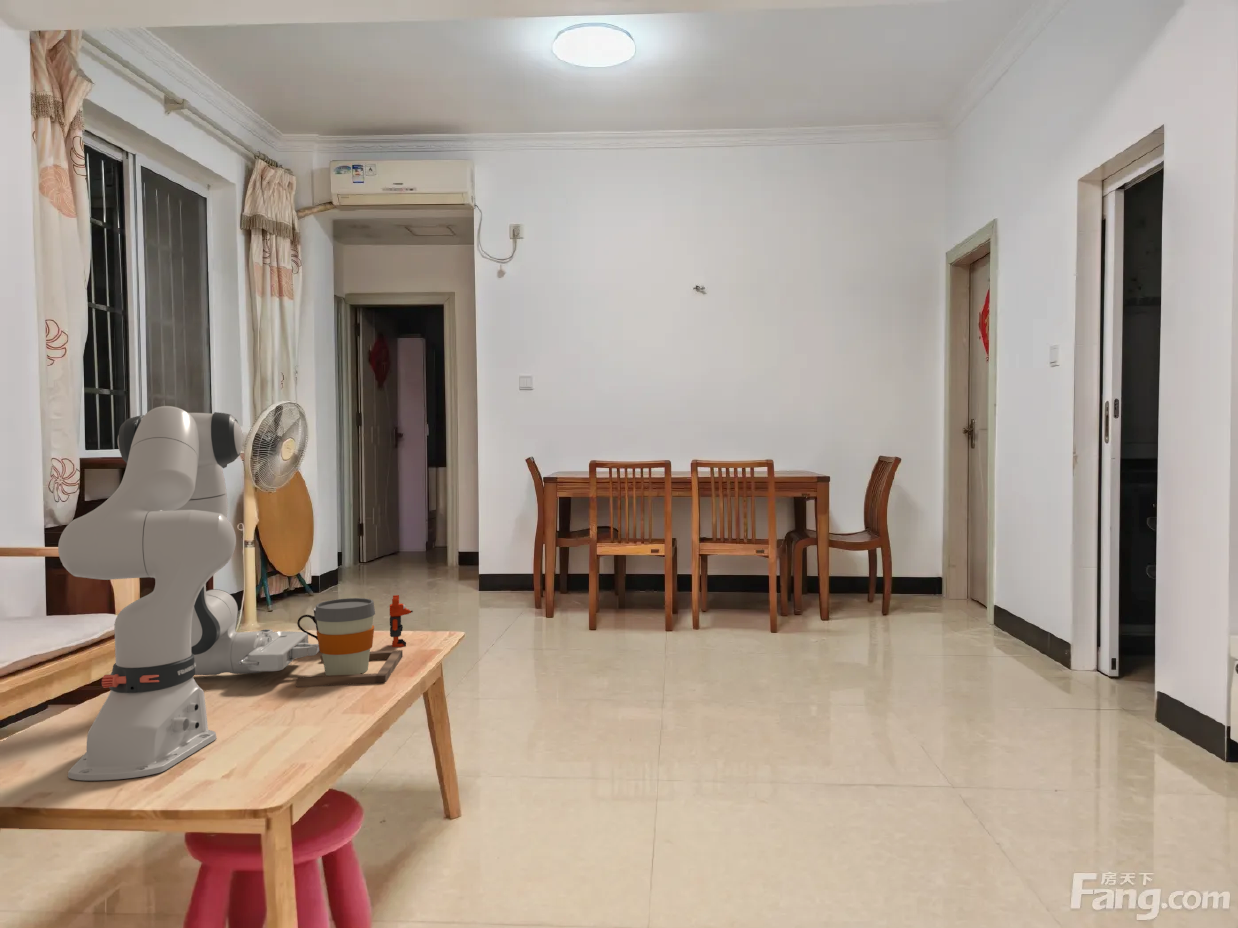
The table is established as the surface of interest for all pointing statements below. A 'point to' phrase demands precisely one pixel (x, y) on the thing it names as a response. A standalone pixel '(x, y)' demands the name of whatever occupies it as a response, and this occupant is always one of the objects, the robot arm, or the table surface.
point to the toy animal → (397, 621)
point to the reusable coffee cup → (345, 634)
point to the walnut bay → (380, 677)
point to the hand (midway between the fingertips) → (318, 649)
